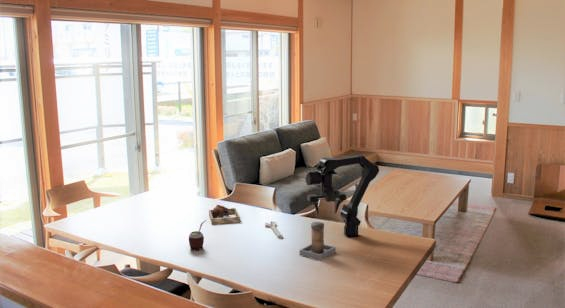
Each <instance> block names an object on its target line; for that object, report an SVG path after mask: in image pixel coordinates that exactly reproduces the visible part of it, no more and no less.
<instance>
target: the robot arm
mask: <svg viewBox="0 0 565 308" xmlns="http://www.w3.org/2000/svg"><path fill="white" fill-rule="evenodd" d="M352 165H359V167H361V168H362V169H361V177H360V180H359V182H358V184H357V186H356V188H355V190H354V193H353V194H352V196H351V199H350V200H349V202H348V203H347V204H346V203H345V204H343V205H342V207H341V209H340V215H339V216H340V218H341V219H342V221H343V223H344V226H343V235H345V236H346V237H347V238H356V237H357V238H358V237H360V234H359V226H360V225H361V220H360V219H359V218H358V214H359V205H360V203H361V202H362V199H363V198H364V195H365V194H366V191H367V189H368V187H369V186H370V183H371V182H372V181H373V180H374V179H375V178H376V177H377V176H378V174H379V172H380V168H379V166H378V165H377V164H375V163H373V162H372V161H370V160H368V159H367V157H365V156H364V155H362V154H356V155H351V156H344V157H339V158H338V157H337V158H336V157H322V158H321V159H320V160H319V164H318V165H317V166H316V168H315V169H314V170H313V171H312V170H309V171H307V173H306V176H305V183H306V185H307V186H316V185H320V192H319V193H320V195H317V194H316V193H312V194H311V193H310V194H307V196H306V200H307V201H308V202H309V203H311V204H312V205H313V207H314V209H315V213H316V214H317V215H318V216H319V202H318V201H319V200H325V202H327V203H331V202H332V203H333V202H334V213H335V214H337V212H338V209H339V207H340V204H342V203H343V202H344V201H347V195H346V194H345V192H342V191H340V190H334V185H333V183H334V182H333V178H334V176H333V175H337V174H338V173H337V171H335V170H336V169H338V168H340V167H345V166H352Z"/></svg>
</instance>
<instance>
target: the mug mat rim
mask: <svg viewBox="0 0 565 308" xmlns="http://www.w3.org/2000/svg"><path fill="white" fill-rule="evenodd" d="M228 209H229V210H228V212H229V215H230V214H231V215H232V214H234V216H227V217H226V216H225V217H223V218H219V217H218V218H213V217H212V212H213V209H208V216H209V219H210V223H211V225H219V224H230V223H240V222H241V216H240V215H239V212H238V210H237V208H236V207H231V208H230V207H229V208H228ZM218 212H219V210H218ZM223 215H227V213H225V212H224V214H223Z"/></svg>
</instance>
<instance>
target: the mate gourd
mask: <svg viewBox="0 0 565 308" xmlns="http://www.w3.org/2000/svg"><path fill="white" fill-rule="evenodd" d="M206 221H207V219H205V220H204V221H202V222H201V223H200V226H199V230H198V231H197V230H196V231H191V232H190V233H189V235H188V243H189V247H190V248H189V249H190V251H194V250H196V251H197V252H199V251H200V250H201V249H204V247H203V246H204V241H205V240H204V239H205V238H204V237H205V236H204V234H203V232H201V229H202V227H203V224H204V223H205V222H206Z"/></svg>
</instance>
